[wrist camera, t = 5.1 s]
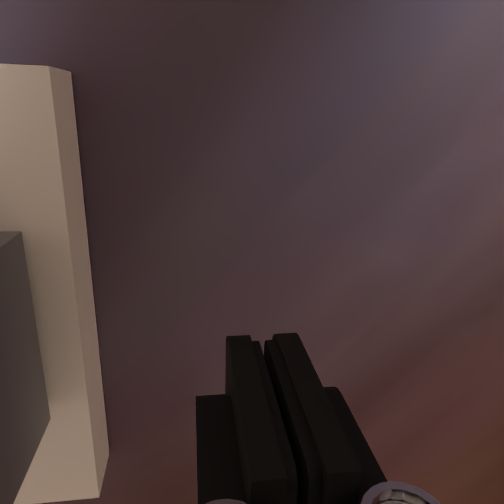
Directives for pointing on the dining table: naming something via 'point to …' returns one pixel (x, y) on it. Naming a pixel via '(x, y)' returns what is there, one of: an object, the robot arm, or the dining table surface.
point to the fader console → (54, 277)
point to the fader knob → (18, 370)
